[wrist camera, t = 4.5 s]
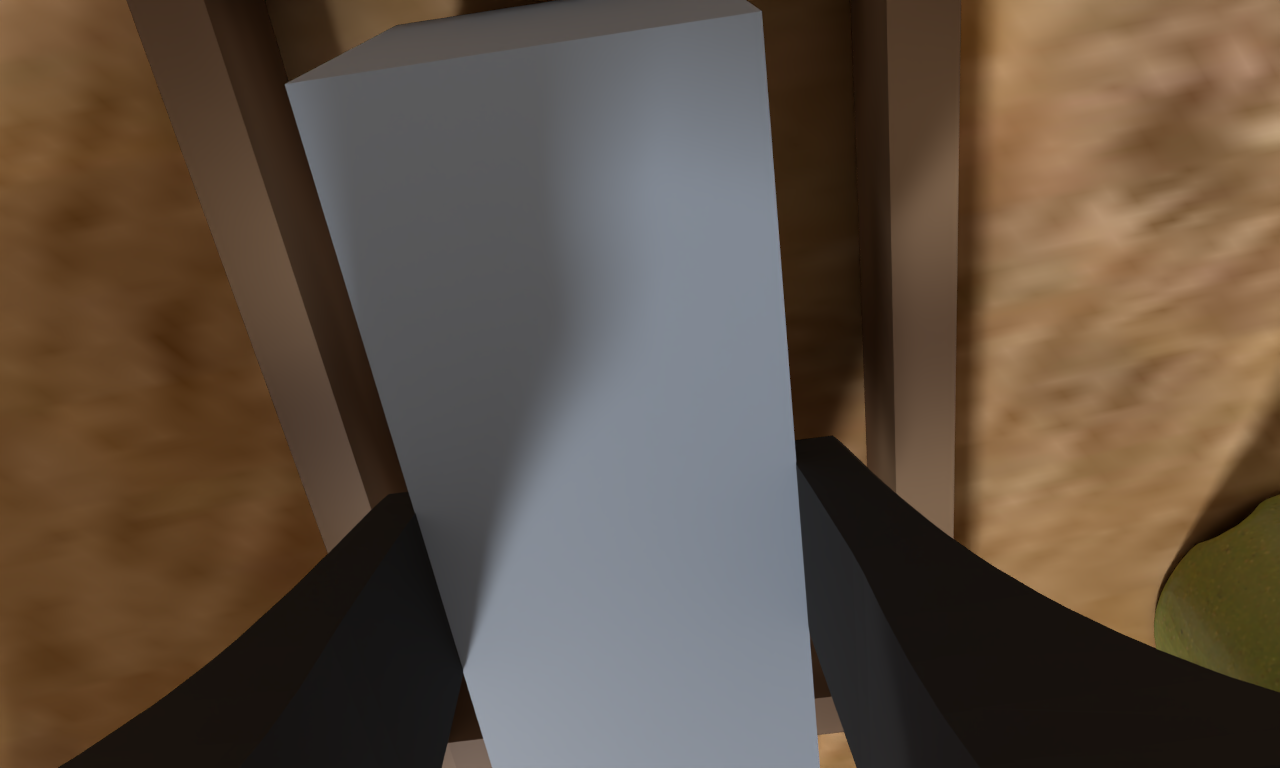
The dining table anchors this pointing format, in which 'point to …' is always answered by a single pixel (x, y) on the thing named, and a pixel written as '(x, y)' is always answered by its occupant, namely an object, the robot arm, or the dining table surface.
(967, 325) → the dining table surface
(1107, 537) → the dining table surface
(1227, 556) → the plant pot
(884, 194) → the peg frame
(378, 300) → the blue-grey rectangular block
